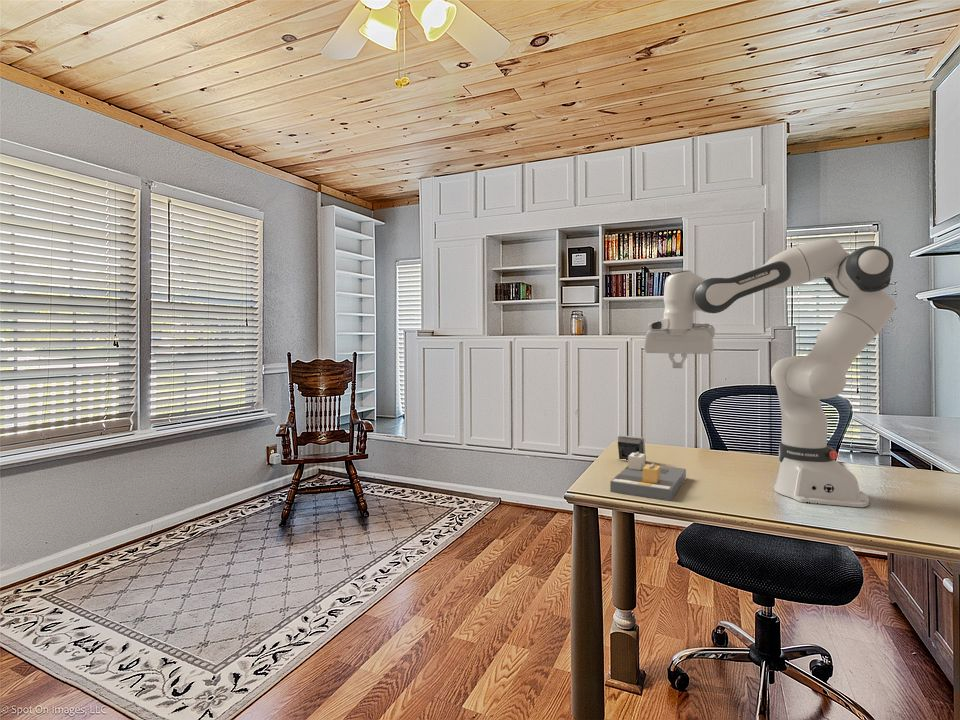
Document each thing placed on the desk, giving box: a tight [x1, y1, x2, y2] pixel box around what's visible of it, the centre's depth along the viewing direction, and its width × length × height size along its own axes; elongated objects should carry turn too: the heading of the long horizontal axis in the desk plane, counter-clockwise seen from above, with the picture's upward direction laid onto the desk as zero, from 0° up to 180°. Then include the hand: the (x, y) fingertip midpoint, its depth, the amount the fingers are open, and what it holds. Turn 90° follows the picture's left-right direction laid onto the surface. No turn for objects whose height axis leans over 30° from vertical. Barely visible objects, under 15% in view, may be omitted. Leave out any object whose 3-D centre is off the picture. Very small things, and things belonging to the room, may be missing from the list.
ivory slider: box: [627, 452, 646, 470], centre depth 168 cm, size 4×5×5 cm
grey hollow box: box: [617, 434, 647, 461], centre depth 187 cm, size 9×5×9 cm, turn 57°
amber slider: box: [643, 462, 662, 484], centre depth 154 cm, size 4×5×5 cm
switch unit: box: [609, 463, 687, 502], centre depth 161 cm, size 17×24×3 cm
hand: (677, 368), depth 164 cm, fingers closed
